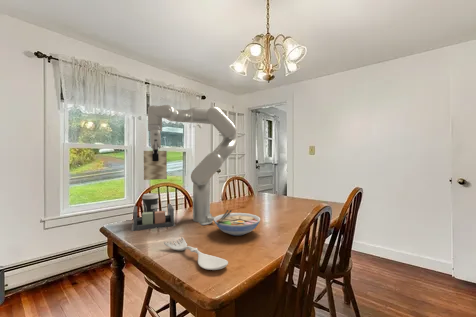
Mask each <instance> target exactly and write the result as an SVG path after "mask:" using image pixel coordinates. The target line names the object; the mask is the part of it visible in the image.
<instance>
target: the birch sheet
mask: <svg viewBox="0 0 476 317" xmlns="http://www.w3.org/2000/svg"><path fill="white" fill-rule="evenodd" d="M167 152H168V151H167V150H158V154H159V161H152V154H153V150H143V180H144V181H149V180H150V181H151V180H153V181H154V180H167V176H168V171H167V168H168V166H167V162H168V161H167V158H168V154H167Z"/></svg>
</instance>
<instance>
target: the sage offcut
mask: <svg viewBox="0 0 476 317" xmlns="http://www.w3.org/2000/svg"><path fill="white" fill-rule="evenodd" d="M141 214H142V216H141V218H142V225H148V224H153V212H144V211H143V212H142V213H141Z"/></svg>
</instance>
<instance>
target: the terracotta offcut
mask: <svg viewBox="0 0 476 317" xmlns="http://www.w3.org/2000/svg"><path fill="white" fill-rule="evenodd" d="M165 215H166V211H165V210H157V211H156V212H155V224H157V223H165Z"/></svg>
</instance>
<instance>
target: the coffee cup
mask: <svg viewBox="0 0 476 317" xmlns="http://www.w3.org/2000/svg"><path fill="white" fill-rule="evenodd" d="M159 198H160V196H159V195H158V193H156V192H154V193H153V192H151V193H150V192H149V193H144V194H142V197H141V199H142V203H143V204H142V205H143V213H144V212H153V217H154V216H155V212H156V211H158V204H159V202H158V201H159Z"/></svg>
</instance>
